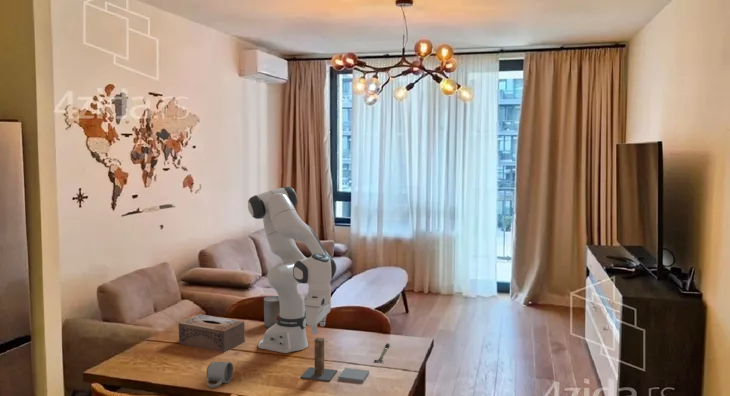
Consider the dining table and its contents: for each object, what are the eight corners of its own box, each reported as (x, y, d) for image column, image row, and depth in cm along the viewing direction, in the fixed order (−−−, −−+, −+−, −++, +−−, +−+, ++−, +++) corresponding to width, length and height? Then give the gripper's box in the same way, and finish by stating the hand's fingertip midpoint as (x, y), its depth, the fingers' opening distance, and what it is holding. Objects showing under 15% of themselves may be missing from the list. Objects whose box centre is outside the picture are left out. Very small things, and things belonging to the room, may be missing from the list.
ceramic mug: (214, 376, 224) (214, 357, 223) (233, 378, 223) (233, 359, 222) (201, 387, 214) (200, 368, 213) (221, 390, 212) (220, 370, 211)
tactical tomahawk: (388, 366, 238) (389, 363, 238) (373, 363, 239) (373, 360, 239) (399, 347, 258) (399, 345, 258) (385, 345, 259) (385, 342, 259)
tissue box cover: (244, 342, 262) (244, 321, 261) (224, 353, 249) (224, 331, 248) (200, 334, 273) (200, 314, 272) (179, 344, 260) (178, 322, 259)
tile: (345, 372, 230) (338, 381, 221) (345, 367, 230) (338, 376, 221) (369, 375, 227) (362, 384, 219) (369, 370, 227) (362, 379, 219)
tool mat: (300, 378, 223) (300, 376, 223) (309, 368, 232) (309, 366, 232) (329, 381, 220) (329, 380, 220) (337, 371, 229) (337, 370, 229)
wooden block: (314, 374, 225) (314, 340, 223) (317, 371, 228) (316, 337, 226) (321, 375, 224) (321, 340, 223) (324, 372, 227) (324, 338, 226)
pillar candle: (286, 322, 290) (285, 293, 289) (279, 328, 281) (278, 298, 279) (268, 321, 292) (267, 292, 291) (260, 327, 283) (260, 297, 281)
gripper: (320, 287, 234) (319, 320, 235) (303, 302, 214) (302, 337, 216) (335, 289, 232) (334, 322, 234) (319, 304, 212) (318, 339, 214)
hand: (318, 329), depth 225 cm, fingers open, 8 cm apart
